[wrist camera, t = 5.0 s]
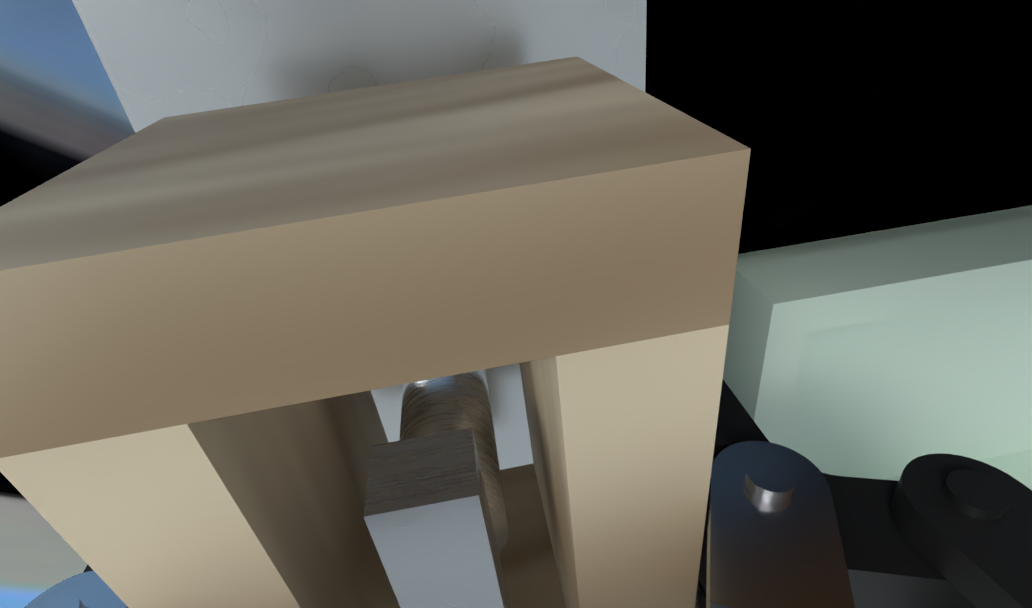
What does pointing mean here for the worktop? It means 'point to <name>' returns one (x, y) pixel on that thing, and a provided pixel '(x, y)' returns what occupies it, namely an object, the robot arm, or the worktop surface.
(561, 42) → the wall hook
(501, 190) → the hollow wooden block
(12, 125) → the worktop surface
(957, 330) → the tray
